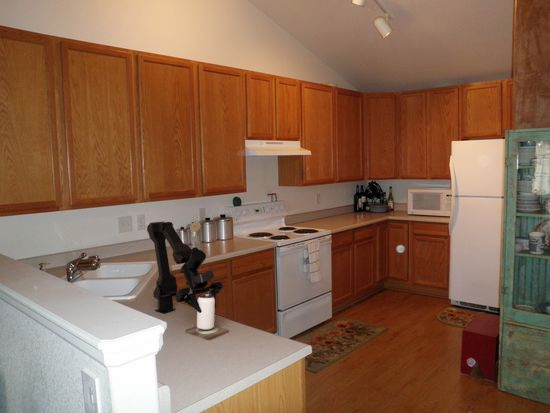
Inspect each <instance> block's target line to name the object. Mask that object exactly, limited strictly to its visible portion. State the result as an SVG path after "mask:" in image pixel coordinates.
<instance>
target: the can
mask: <svg viewBox="0 0 550 413" xmlns="http://www.w3.org/2000/svg"><path fill="white" fill-rule="evenodd" d="M197 301H198V303H199V306H200V308H201V310H202V312H201V313H199V312H198V311H197V310H196V326H197V327H198V328H199V329H202V330H208V329H212V328H213V327H214V325H215V311H216V309H215V299H214V296H213V295H211V294H208V293H201V294H200V295H199V294H198V298H197Z"/></svg>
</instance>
